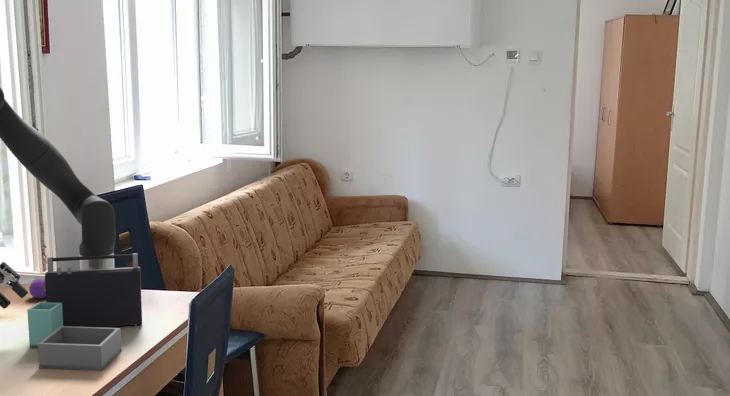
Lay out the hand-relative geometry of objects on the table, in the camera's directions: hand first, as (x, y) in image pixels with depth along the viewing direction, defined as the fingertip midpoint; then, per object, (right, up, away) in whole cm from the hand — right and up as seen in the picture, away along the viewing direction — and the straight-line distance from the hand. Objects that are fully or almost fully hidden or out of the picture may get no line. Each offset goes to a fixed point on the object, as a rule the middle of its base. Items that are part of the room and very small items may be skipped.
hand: (16, 300), depth 185 cm
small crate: (+7, -11, +2) cm, 13 cm away
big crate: (+19, -13, -8) cm, 25 cm away
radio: (+14, -9, +15) cm, 23 cm away
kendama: (-4, -5, +41) cm, 41 cm away
